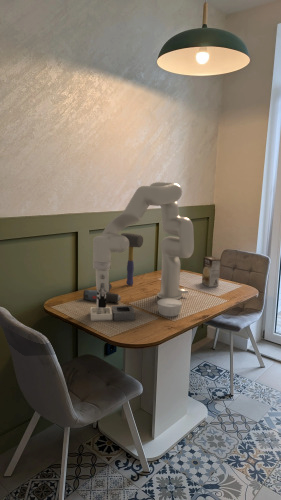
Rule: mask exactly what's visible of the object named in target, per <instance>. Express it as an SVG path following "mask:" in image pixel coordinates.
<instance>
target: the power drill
mask: <svg viewBox="0 0 281 500" xmlns="http://www.w3.org/2000/svg"><path fill="white" fill-rule="evenodd" d="M111 290H112V284H111V283H110V282H109V292H108V293H107V292H106V303H118V302H120V301H121V300H122V296H120V294H119V293H113V292H111ZM82 298H83V300H85V301H92V300H93V302H94V301H95V302H97V288H96V289H85V290H84V291H83V296H82Z"/></svg>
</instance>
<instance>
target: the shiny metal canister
mask: <svg viewBox="0 0 281 500" xmlns="http://www.w3.org/2000/svg"><path fill="white" fill-rule="evenodd" d="M98 298H99V294H98V295H97V301H96V307H97V314H106V307H107V306H106V307H103V308H99V307H98Z"/></svg>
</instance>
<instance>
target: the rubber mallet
mask: <svg viewBox="0 0 281 500" xmlns="http://www.w3.org/2000/svg"><path fill="white" fill-rule="evenodd" d="M120 235H123V236H125V237H126V238H127V239H128V240H129V247H128V257H127V258H128V261H127V263H126V264H127V265H126V272H127V275H126V277H127V278H126V286H128V287H132V286H133V285H134V268H135V267H134V266H135V265H134V264H135V263H134V248H141V247H142V246H143V243H144V237H143V235H141V234H135V233H131V232H129V233H127V232H122V233H121V234H120Z"/></svg>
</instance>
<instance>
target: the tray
mask: <svg viewBox="0 0 281 500" xmlns="http://www.w3.org/2000/svg"><path fill="white" fill-rule="evenodd" d="M89 308H90V310H89V312H90V321H92V322H93V321H113V316H112V306H106V314H97V306H96V307H95V306H93V307H92V306H91V307H89Z"/></svg>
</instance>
